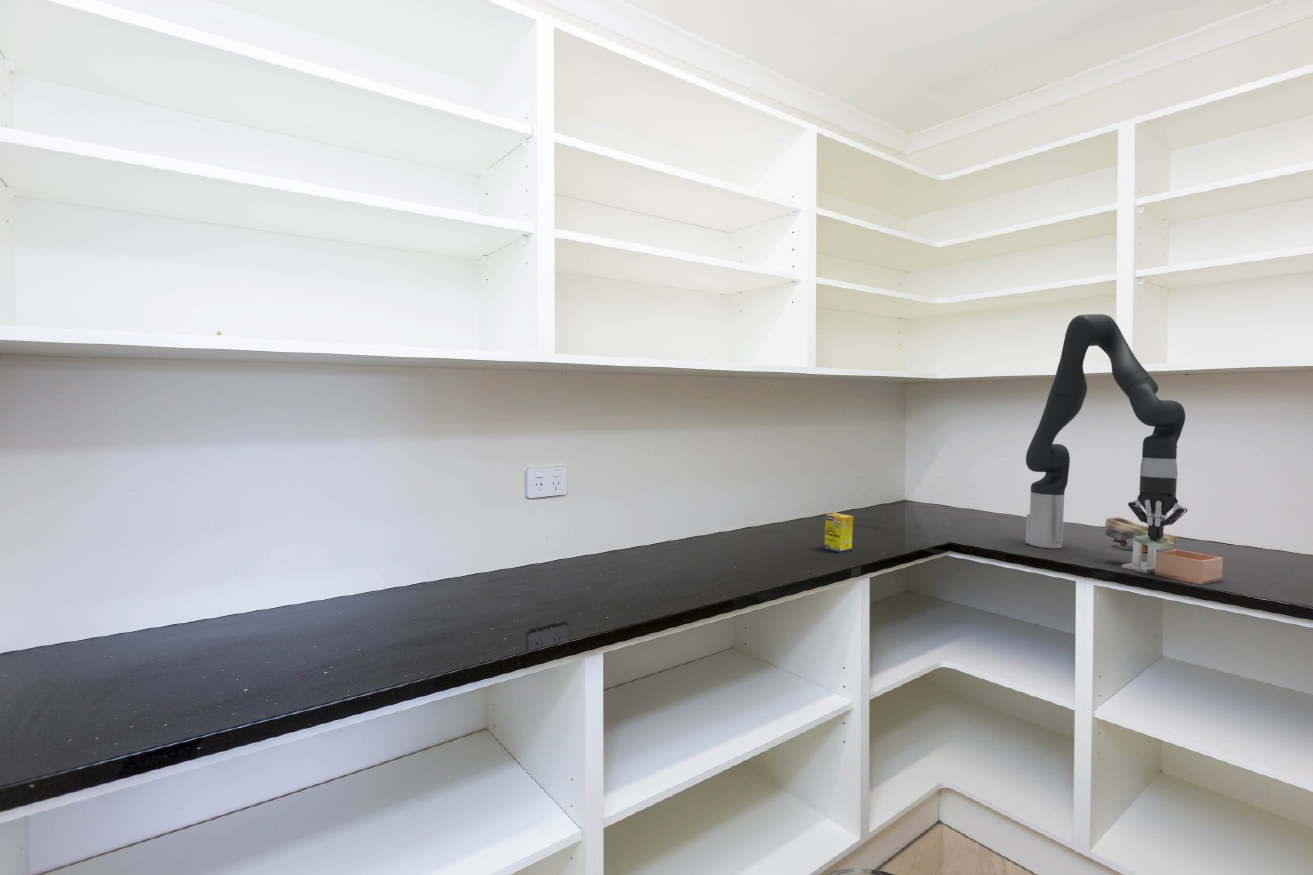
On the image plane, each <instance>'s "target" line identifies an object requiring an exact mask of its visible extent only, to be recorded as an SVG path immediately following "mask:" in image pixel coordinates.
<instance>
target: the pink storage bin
mask: <svg viewBox="0 0 1313 875" xmlns="http://www.w3.org/2000/svg"><path fill="white" fill-rule="evenodd" d="M1223 562H1224V557H1221V556H1215V555H1209V554H1206V553H1205V554H1204V553H1198V552H1192V551H1187V550H1181V549H1176V548H1175V549H1170V550H1163V551H1158V552H1157V551H1156V561H1155V571H1154V575H1155V576H1159V577H1164V578H1168V579H1174V580H1177V581H1182V582H1187V583H1191V582H1193V583H1192V584H1196V583H1197V584H1196V585H1200V584H1201V586H1202V585H1203V584H1204V585H1208V584H1211V582H1213V583H1216V582H1221V581H1222V578H1223ZM1207 583H1208V584H1207Z"/></svg>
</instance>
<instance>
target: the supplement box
mask: <svg viewBox="0 0 1313 875" xmlns="http://www.w3.org/2000/svg"><path fill="white" fill-rule="evenodd" d="M824 522H825V524H824V525H825V526H824V527H825V528H824V550H826V551H830V552H833V553H834V552H835V553H837V554H838V553H839V554H842V553H843V554H844V553H849V552H852V549H853V529H854V528H853V525H854V523H853V522H854V515H849V514H848V515H847V514H843V513H839V512H836V513H830V514H825V521H824Z"/></svg>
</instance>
